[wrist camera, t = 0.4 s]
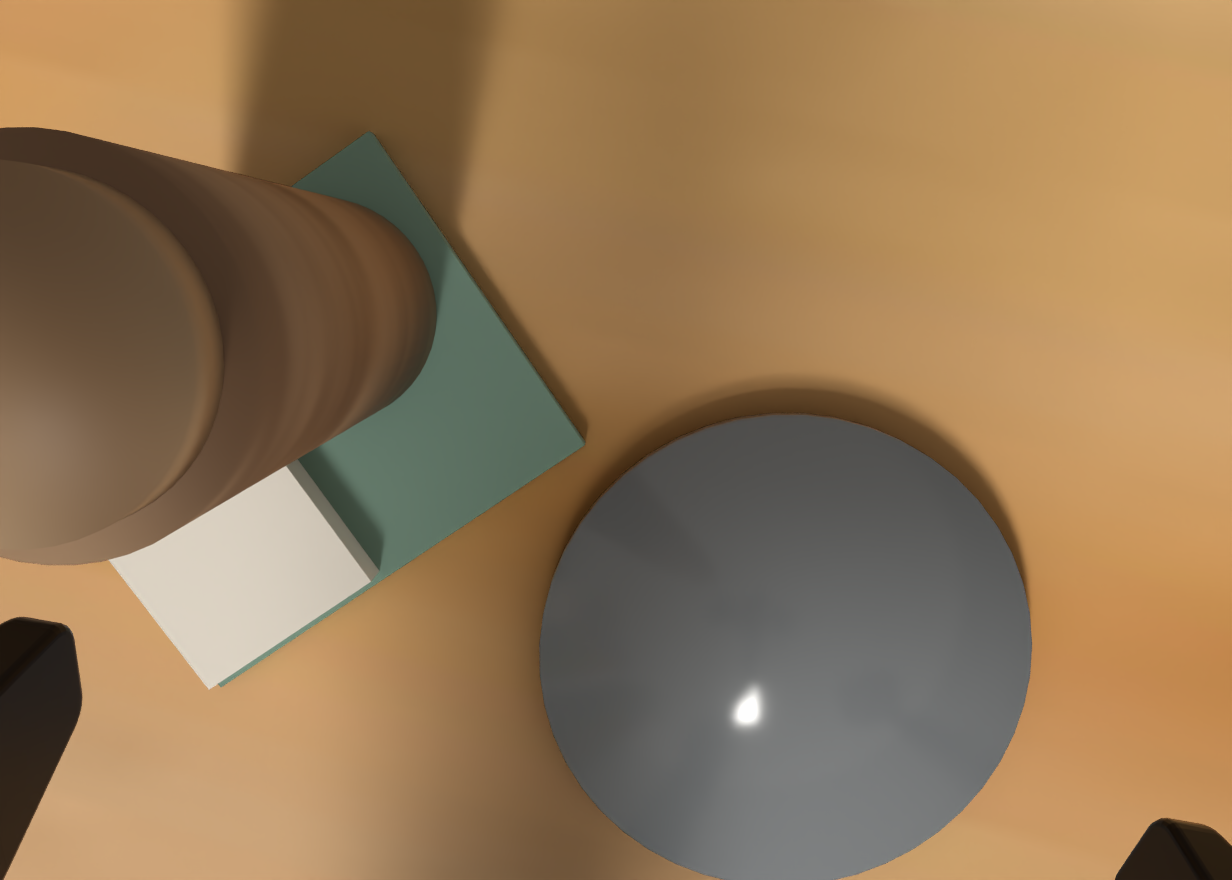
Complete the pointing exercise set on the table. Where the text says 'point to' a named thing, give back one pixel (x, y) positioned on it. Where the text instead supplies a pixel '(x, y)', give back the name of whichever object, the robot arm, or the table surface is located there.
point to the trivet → (784, 649)
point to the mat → (360, 468)
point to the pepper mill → (179, 338)
